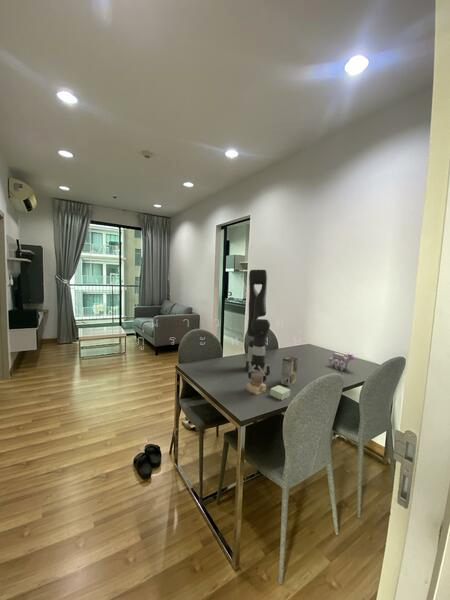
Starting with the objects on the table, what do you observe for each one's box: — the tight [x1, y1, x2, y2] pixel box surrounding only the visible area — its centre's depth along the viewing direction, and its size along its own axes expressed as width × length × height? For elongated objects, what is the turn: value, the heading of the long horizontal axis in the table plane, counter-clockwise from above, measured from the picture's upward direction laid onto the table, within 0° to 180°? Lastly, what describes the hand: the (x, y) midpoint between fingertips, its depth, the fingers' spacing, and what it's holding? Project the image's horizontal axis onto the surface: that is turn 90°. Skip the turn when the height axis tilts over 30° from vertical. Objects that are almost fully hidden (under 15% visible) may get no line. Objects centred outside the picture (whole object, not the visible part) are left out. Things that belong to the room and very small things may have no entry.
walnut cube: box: [250, 373, 263, 387], centre depth 154 cm, size 5×5×5 cm
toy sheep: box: [328, 352, 357, 372], centre depth 198 cm, size 20×11×14 cm, turn 35°
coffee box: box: [280, 355, 298, 387], centre depth 167 cm, size 9×6×16 cm
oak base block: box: [246, 382, 267, 395], centre depth 154 cm, size 8×8×4 cm
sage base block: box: [269, 384, 291, 401], centre depth 149 cm, size 8×8×4 cm
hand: (256, 379), depth 154 cm, fingers open, 8 cm apart
